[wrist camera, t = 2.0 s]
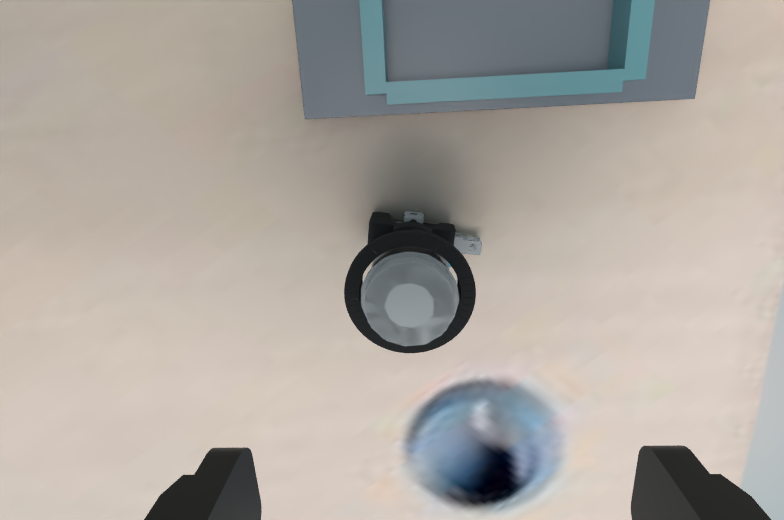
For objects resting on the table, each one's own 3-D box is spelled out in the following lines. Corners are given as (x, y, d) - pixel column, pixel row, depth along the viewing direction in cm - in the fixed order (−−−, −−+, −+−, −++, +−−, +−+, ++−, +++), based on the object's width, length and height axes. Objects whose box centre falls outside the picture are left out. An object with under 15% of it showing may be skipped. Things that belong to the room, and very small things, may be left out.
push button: (484, 198, 26) (526, 250, 16) (470, 283, 28) (500, 375, 18) (369, 186, 26) (345, 232, 17) (362, 272, 28) (337, 358, 18)
